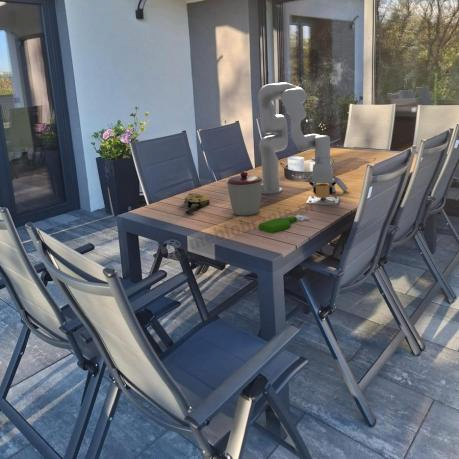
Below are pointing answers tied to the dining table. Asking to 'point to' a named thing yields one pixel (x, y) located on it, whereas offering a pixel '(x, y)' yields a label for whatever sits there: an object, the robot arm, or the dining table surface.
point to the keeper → (323, 200)
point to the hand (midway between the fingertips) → (322, 194)
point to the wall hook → (340, 185)
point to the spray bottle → (280, 223)
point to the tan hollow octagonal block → (322, 190)
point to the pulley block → (196, 202)
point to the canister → (245, 194)
